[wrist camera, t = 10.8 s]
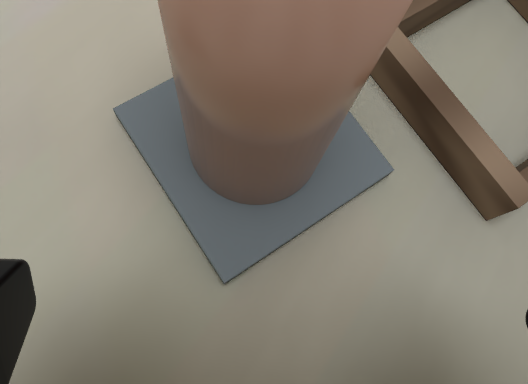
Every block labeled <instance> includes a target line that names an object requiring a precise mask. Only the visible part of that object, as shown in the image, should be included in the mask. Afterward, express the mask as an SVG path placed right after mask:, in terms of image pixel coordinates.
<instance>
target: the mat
mask: <svg viewBox="0 0 528 384" xmlns="http://www.w3.org/2000/svg"><path fill="white" fill-rule="evenodd" d="M113 110H114V112H115V114H116V116H117V118H118V119H119V121H120V122H121V124H122V125H123V127H124V128H125V130H126V132H127V133H128V135H129V136H130V138H131V139H132V141H133V143H134V144H135V146H136V147H137V149H138V150H139V152H140V154H141V155H142V157H143V158H144V160H145V161H146V163H147V164H148V166H149V168H150V169H151V171H152V172H153V174H154V175H155V177H156V179H157V180H158V182H159V183H160V185H161V186H162V188H163V190H164V191H165V193H166V194H167V196H168V197H169V199H170V201H171V202H172V204H173V205H174V207H175V208H176V210H177V211H178V213H179V215H180V216H181V218H182V219H183V221H184V222H185V224H186V226H187V227H188V229H189V230H190V232H191V233H192V235H193V237H194V238H195V240H196V241H197V243H198V244H199V246H200V247H201V249H202V251H203V252H204V254H205V255H206V257H207V258H208V260H209V262H210V263H211V265H212V266H213V268H214V269H215V271H216V273H217V274H218V276H219V277H220V279H221V280H222V282H223V284H226V283H227V282H229V281H230V280H232V279H233V278H235V277H236V276H238V275H239V274H241V273H242V272H244V271H245V270H247V269H248V268H250V267H251V266H253V265H254V264H256V263H257V262H259V261H260V260H262V259H263V258H265V257H266V256H268V255H269V254H271V253H272V252H274V251H275V250H277V249H278V248H280V247H281V246H283V245H284V244H286V243H287V242H289V241H290V240H292V239H293V238H295V237H296V236H298V235H299V234H301V233H302V232H304V231H305V230H307V229H308V228H310V227H311V226H313V225H314V224H316V223H317V222H319V221H320V220H322V219H323V218H325V217H326V216H328V215H329V214H331V213H332V212H334V211H335V210H337V209H338V208H340V207H341V206H343V205H344V204H346V203H347V202H349V201H350V200H352V199H353V198H355V197H356V196H358V195H359V194H361V193H362V192H364V191H365V190H367V189H368V188H370V187H371V186H373V185H374V184H376V183H377V182H379V181H380V180H382V179H383V178H385V177H386V176H388V175H389V174H390V173H391V172H392V171H393V170H394V169H393V168H392V166H391V165H390V164H389V162H388V161H387V160H386V158H385V157H384V156H383V155H382V153H381V152H380V151H379V149H378V148H377V147H376V145H375V144H374V143H373V142H372V140H371V139H370V138H369V136H368V135H367V134H366V132H365V131H364V130H363V129H362V127H361V126H360V125H359V123H358V122H357V121H356V119H355V118H354V117H353V115H352V114H351V113H350V112H348V114H347V115H346V117H345V119H344V120H343V122H342V124H341V126H340V127H339V129H338V131H337V133H336V134H335V136H334V138H333V139H332V141H331V143H330V145H329V146H328V148H327V150H326V152H325V153H324V155H323V157H322V158H321V160H320V162H319V164H318V165H317V167H316V169H315V171H314V172H313V174H312V176H311V177H310V179H309V180H308V181H307V183H306V184H305V185H304V186H303V187H302V188H301V189H300V190H298V191H297V192H296V193H294V194H293V195H291V196H289V197H287V198H285V199H283V200H280V201H278V202H274V203H270V204H263V205H249V204H242V203H238V202H234V201H231V200H229V199H227V198H224V197H223V196H221V195H219V194H217V193H216V192H215V191H213V190H212V189H211V188H209V187H208V186H207V185H206V184H205V183H204V182H203V180H202V179H201V178H200V177H199V175H198V174H197V172H196V170H195V168H194V167H193V164H192V161H191V159H190V155H189V150H188V145H187V141H186V136H185V131H184V126H183V121H182V116H181V111H180V107H179V102H178V97H177V92H176V87H175V82H174V77H173V78H171V79H169V80H167V81H165V82H163V83H162V84H160V85H158V86H156V87H154V88H152V89H150V90H148V91H146V92H144V93H142V94H140V95H138V96H136V97H134V98H133V99H131V100H129V101H127V102H125V103H123V104H121V105H119V106H117V107H115V108H113Z"/></svg>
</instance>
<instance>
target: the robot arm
mask: <svg viewBox="0 0 528 384" xmlns="http://www.w3.org/2000/svg"><path fill="white" fill-rule="evenodd" d="M35 307H36V296H35V291H34V286H33V281H32V276H31V271H30V267H29V265H28V263H27V262H26V261H25V260H22V259H0V384H9V381H10V378H11V376H12V373H13V370H14V367H15V364H16V362H17V359H18V356H19V353H20V351H21V348H22V345H23V342H24V340H25V337H26V334H27V331H28V329H29V326H30V323H31V320H32V318H33V315H34V312H35ZM526 325H527V328H528V310H527V312H526Z"/></svg>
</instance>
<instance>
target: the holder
mask: <svg viewBox="0 0 528 384" xmlns="http://www.w3.org/2000/svg"><path fill="white" fill-rule="evenodd" d="M469 1H471V0H413V1H412V3H411V5H410V6H409V8H408V10H407V12H406V13H405V15H404V17H403V19H402V20H401V22H400V24H399V25H398V27H397V29H396V31H395V32H394V34H393V36H392V38H391V39H390V41H389V43H388V44H387V46H386V48H385V50H384V51H383V53H382V55H381V57H380V58H379V60H378V62H377V63H376V65H375V67H374V69H373V70H372V72H371V74H370V75H371V76H372V77H373V78H374V80H375V81H376V82H377V83H378V85H379V86H380V87H381V88H382V90H383V91H384V92H385V93H386V95H387V96H388V97H389V98H390V100H391V101H392V102H393V103H394V105H395V106H396V107H397V108H398V110H399V111H400V112H401V114H402V115H403V116H404V117H405V119H406V120H407V121H408V122H409V124H410V125H411V126H412V127H413V129H414V130H415V131H416V132H417V134H418V135H419V136H420V137H421V139H422V140H423V141H424V142H425V144H426V145H427V146H428V147H429V149H430V150H431V151H432V152H433V154H434V155H435V156H436V158H437V159H438V160H439V161H440V163H441V164H442V165H443V166H444V168H445V169H446V170H447V171H448V173H449V174H450V175H451V176H452V178H453V179H454V180H455V181H456V183H457V184H458V185H459V186H460V188H461V189H462V190H463V191H464V193H465V194H466V195H467V197H468V198H469V199H470V200H471V202H472V203H473V204H474V205H475V207H476V208H477V209H478V210H479V212H480V213H481V214H482V215H483V217H484V218H485V219H486V220H489V219H492V218H495V217H497V216H500V215H502V214H505V213H508V212H510V211H513V210H515V209H518V208H520V207H521V206H522V205H524V204H525V203H526V202H527V201H528V159H527V160H526V161H525V162H523V163H522V164H520V165H519V166H518V167H516V168H515V167H514V166H513V165H512V163H511V162H510V161H509V160H508V159H507V157H506V156H505V155H504V154H503V153H502V151H501V150H500V149H499V148H498V147H497V145H496V144H495V143H494V142H493V141H492V139H491V138H490V137H489V136H488V135H487V133H486V132H485V131H484V130H483V129H482V127H481V126H480V125H479V124H478V123H477V121H476V120H475V119H474V118H473V116H472V115H471V114H470V113H469V112H468V110H467V109H466V108H465V107H464V106H463V104H462V103H461V102H460V101H459V100H458V98H457V97H456V96H455V95H454V94H453V92H452V91H451V90H450V89H449V88H448V86H447V85H446V84H445V83H444V82H443V80H442V79H441V78H440V77H439V76H438V74H437V73H436V72H435V71H434V70H433V68H432V67H431V66H430V65H429V64H428V62H427V61H426V60H425V59H424V58H423V56H422V55H421V54H420V53H419V52H418V50H417V49H416V48H415V47H414V46H413V44H412V43H411V42H410V41H409V40H408V38H407V37H408V36H410V35H412V34H413V33H415V32H417V31H419V30H420V29H422V28H424V27H426V26H427V25H429V24H431V23H432V22H434V21H436V20H438V19H439V18H441V17H443V16H445V15H446V14H448V13H450V12H452V11H453V10H455V9H457V8H459V7H460V6H462V5H464V4H465V3H467V2H469ZM508 1H509V2H510V3H511V4H512V5H513V6H514V7H515V8H516V10H517V11H518V12H519V13H520V14H521V15H522V16H523V17H524V18H525V19H526V20H527V22H528V0H508Z"/></svg>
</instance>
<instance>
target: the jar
mask: <svg viewBox="0 0 528 384" xmlns="http://www.w3.org/2000/svg"><path fill="white" fill-rule="evenodd" d="M412 1H413V0H158V5H159V9H160V14H161V19H162V24H163V29H164V34H165V39H166V43H167V48H168V53H169V58H170V63H171V68H172V73H173V77H174V82H175V87H176V92H177V97H178V102H179V107H180V111H181V116H182V121H183V126H184V131H185V136H186V141H187V145H188V150H189V155H190V159H191V161H192V164H193V167H194V168H195V170H196V172H197V174H198V175H199V177H200V178H201V179H202V180H203V182H204V183H205V184H206V185H207V186H208V187H209V188H211V189H212V190H213V191H215V192H216V193H217V194H219V195H221V196H223V197H224V198H227V199H229V200H231V201H234V202H238V203H242V204H249V205H263V204H270V203H274V202H278V201H280V200H283V199H285V198H287V197H289V196H291V195H293V194H294V193H296V192H297V191H298V190H300V189H301V188H302V187H303V186H304V185H305V184H306V183H307V181H308V180H309V179H310V177H311V176H312V174H313V172H314V171H315V169H316V167H317V165H318V164H319V162H320V160H321V158H322V157H323V155H324V153H325V152H326V150H327V148H328V146H329V145H330V143H331V141H332V139H333V138H334V136H335V134H336V133H337V131H338V129H339V127H340V126H341V124H342V122H343V120H344V119H345V117H346V115H347V114H348V112H349V110H350V108H351V107H352V105H353V103H354V101H355V100H356V98H357V96H358V95H359V93H360V91H361V89H362V88H363V86H364V84H365V82H366V81H367V79H368V77H369V76H370V74H371V72H372V70H373V69H374V67H375V65H376V63H377V62H378V60H379V58H380V57H381V55H382V53H383V51H384V50H385V48H386V46H387V44H388V43H389V41H390V39H391V38H392V36H393V34H394V32H395V31H396V29H397V27H398V25H399V24H400V22H401V20H402V19H403V17H404V15H405V13H406V12H407V10H408V8H409V6H410V5H411V3H412Z"/></svg>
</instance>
